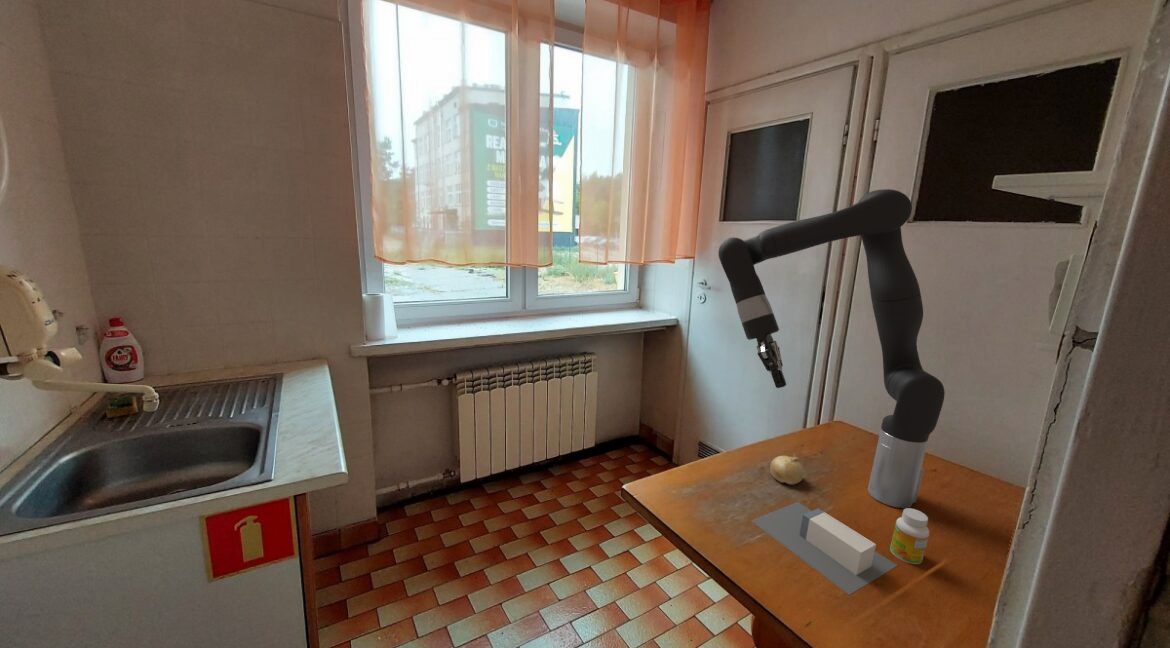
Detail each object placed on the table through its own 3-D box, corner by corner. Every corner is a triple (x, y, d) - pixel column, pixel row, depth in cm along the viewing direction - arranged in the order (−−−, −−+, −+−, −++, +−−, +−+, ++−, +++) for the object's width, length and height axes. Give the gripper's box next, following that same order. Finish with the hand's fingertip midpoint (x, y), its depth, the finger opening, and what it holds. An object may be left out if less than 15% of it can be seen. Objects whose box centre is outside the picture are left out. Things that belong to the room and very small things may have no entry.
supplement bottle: (883, 546, 91) (892, 505, 89) (907, 546, 92) (917, 505, 90) (903, 566, 86) (914, 523, 84) (928, 565, 87) (940, 523, 84)
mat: (750, 522, 97) (750, 520, 97) (797, 503, 105) (797, 501, 104) (848, 597, 78) (849, 594, 78) (897, 567, 86) (897, 565, 86)
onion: (792, 493, 109) (796, 467, 107) (762, 478, 115) (766, 453, 113) (807, 482, 114) (811, 457, 112) (778, 468, 120) (781, 444, 118)
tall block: (803, 514, 92) (861, 552, 82) (818, 508, 94) (876, 544, 84) (799, 535, 93) (856, 575, 83) (814, 528, 95) (871, 566, 85)
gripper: (766, 311, 98) (793, 387, 95) (778, 312, 109) (802, 379, 106) (734, 322, 102) (759, 394, 99) (748, 321, 113) (771, 386, 110)
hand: (781, 386), depth 103 cm, fingers closed
